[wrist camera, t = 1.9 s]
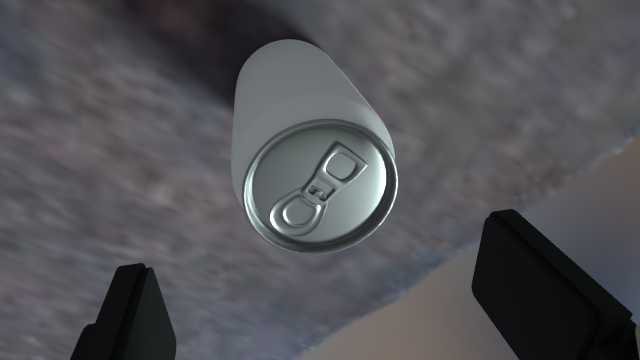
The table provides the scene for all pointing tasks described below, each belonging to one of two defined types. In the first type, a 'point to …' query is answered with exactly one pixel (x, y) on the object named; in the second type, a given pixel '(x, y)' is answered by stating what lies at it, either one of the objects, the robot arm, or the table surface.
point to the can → (308, 152)
